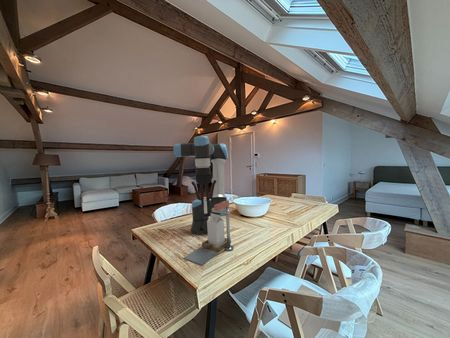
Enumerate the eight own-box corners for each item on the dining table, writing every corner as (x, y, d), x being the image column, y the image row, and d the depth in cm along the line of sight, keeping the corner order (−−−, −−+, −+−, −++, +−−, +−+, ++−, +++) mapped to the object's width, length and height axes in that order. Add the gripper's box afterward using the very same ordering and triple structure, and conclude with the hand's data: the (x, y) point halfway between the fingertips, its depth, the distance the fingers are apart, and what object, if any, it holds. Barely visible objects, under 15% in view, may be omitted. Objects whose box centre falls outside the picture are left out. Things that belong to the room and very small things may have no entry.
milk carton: (216, 241, 116) (214, 211, 115) (225, 244, 111) (223, 213, 110) (208, 246, 111) (206, 214, 109) (217, 249, 106) (215, 216, 105)
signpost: (203, 250, 104) (200, 203, 102) (216, 242, 113) (213, 198, 111) (221, 256, 97) (218, 205, 95) (233, 246, 106) (230, 200, 105)
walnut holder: (202, 247, 109) (201, 243, 109) (214, 239, 120) (214, 235, 119) (218, 252, 102) (218, 248, 102) (231, 243, 113) (230, 239, 112)
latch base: (222, 249, 105) (222, 248, 105) (228, 245, 109) (227, 244, 109) (230, 252, 102) (230, 250, 102) (235, 247, 106) (235, 246, 106)
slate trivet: (183, 258, 98) (183, 257, 98) (200, 248, 109) (200, 247, 109) (201, 265, 91) (201, 264, 90) (217, 253, 101) (217, 252, 101)
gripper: (189, 168, 89) (192, 216, 90) (216, 166, 91) (219, 213, 93) (190, 167, 96) (192, 211, 98) (214, 166, 99) (217, 209, 100)
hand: (205, 212), depth 95 cm, fingers closed
